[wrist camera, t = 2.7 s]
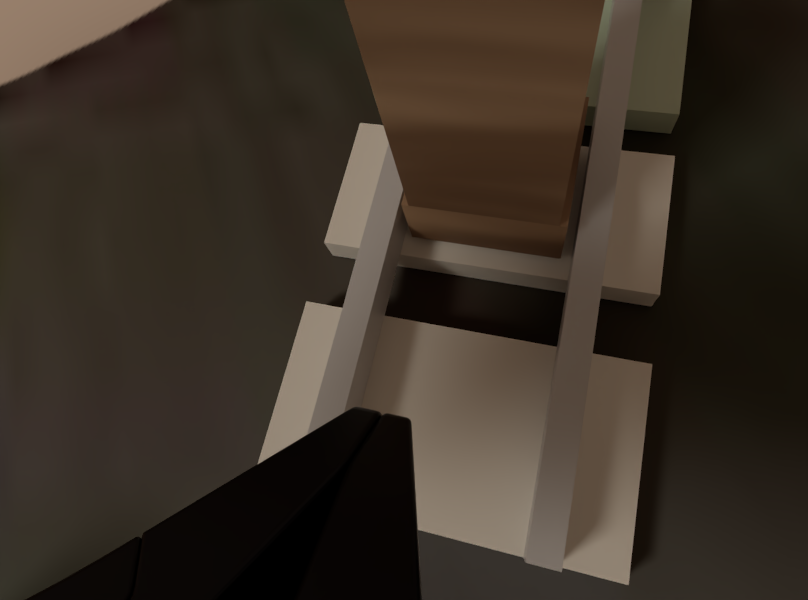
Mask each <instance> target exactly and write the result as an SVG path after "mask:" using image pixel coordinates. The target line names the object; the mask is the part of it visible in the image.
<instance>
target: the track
mask: <svg viewBox="0 0 808 600" xmlns="http://www.w3.org/2000/svg"><path fill="white" fill-rule="evenodd" d="M691 4H692V0H605V2H604V7H603V12H602V17H601V22H600V27H599V32H598V37H597V42H596V47H595V52H594V57H593V62H592V67H591V72H590V77H589V82H588V87H587V92H586V97H589V101H588V108H587V114H586V120H585V125H586V126H592V131H591V137H590V144H589V147H585V146H581V150H580V156H579V162H578V168H577V174H576V180H575V186H574V192H573V198H572V205H571V211H570V217H569V223H568V228H567V233H566V237H565V241H564V246H563V250H562V255H561V259H558V258H551V257H544V256H538V255H531V254H524V253H517V252H511V251H504V250H497V249H490V248H484V247H477V246H470V245H463V244H457V243H450V242H443V241H436V240H430V239H423V238H416V237H412V235H411V232H410V229H409V226H408V224H407V221H406V218H405V215H404V212H403V209H402V206H401V204H402V200H403V196H404V190H403V187H402V184H401V181H400V177H399V174H398V171H397V168H396V165H395V161H394V158H393V155H392V152H391V148H390V145H389V142H388V139H387V136H386V132H385V129H384V126H383V125H375V124H366V123H360V125H359V128H358V132H357V135H356V138H355V142H354V145H353V148H352V152H351V155H350V158H349V162H348V165H347V168H346V172H345V175H344V178H343V182H342V185H341V188H340V192H339V195H338V198H337V202H336V205H335V208H334V212H333V215H332V218H331V222H330V225H329V228H328V232H327V235H326V238H325V242H324V243H325V244H326V246H327V247H328V249H329V250H330V252H331V253H332V255H333V256H340V257H346V258H352V259H356V262H355V265H354V269H353V272H352V276H351V279H350V283H349V287H348V290H347V294H346V297H345V301H344V304H343V308H340V307H334V306H329V305H323V304H318V303H312V302H307V301H306V305H305V308H304V311H303V315H302V318H301V321H300V325H299V328H298V331H297V335H296V338H295V341H294V345H293V348H292V351H291V355H290V358H289V361H288V365H287V368H286V371H285V375H284V378H283V381H282V385H281V388H280V391H279V395H278V398H277V401H276V405H275V408H274V411H273V415H272V418H271V421H270V425H269V428H268V431H267V435H266V438H265V441H264V445H263V448H262V451H261V455H260V458H259V461H258V464H259V463H261V462H262V461H264V460H266V459H267V458H269V457H271V456H272V455H274V454H276V453H277V452H279V451H281V450H282V449H284V448H286V447H287V446H289V445H291V444H292V443H294V442H296V441H297V440H299V439H301V438H302V437H304V436H306V435H307V434H309V433H311V432H312V431H314V430H316V429H317V428H319V427H321V426H322V425H324V424H326V423H327V422H329V421H331V420H332V419H334V418H336V417H337V416H339V415H341V414H342V413H344V412H346V411H347V410H349V409H351V408H353V407H362V408H367V409H371V410H376V411H379V412H380V413H381V414H382V415H383V414H385V413H389V414H394V415H399V416H403V417H407V418H409V419H410V420H411V424H412V439H413V456H414V473H415V490H416V507H417V524H418V530H421V531H425V532H429V533H433V534H437V535H440V536H444V537H448V538H452V539H455V540H459V541H463V542H467V543H471V544H474V545H478V546H482V547H486V548H490V549H493V550H497V551H501V552H505V553H508V554H512V555H516V556H520V557H523V558H524V560H525V563H529V564H533V565H537V566H540V567H544V568H548V569H552V570H555V571H559V572H562V568H565V569H569V570H573V571H577V572H580V573H584V574H588V575H592V576H596V577H599V578H603V579H607V580H611V581H615V582H618V583H622V584H626V585H629V576H630V567H631V557H632V548H633V539H634V530H635V520H636V511H637V502H638V493H639V484H640V474H641V465H642V456H643V447H644V437H645V428H646V419H647V410H648V401H649V391H650V382H651V373H652V364H648V363H643V362H637V361H632V360H626V359H621V358H615V357H610V356H604V355H599V354H593V347H594V340H595V332H596V325H597V318H598V311H599V304H600V298H601V299H607V300H614V301H620V302H626V303H632V304H639V305H645V306H652V305H653V304H654V302H655V301H656V300H657V298H658V297H659V296H660V290H661V281H662V271H663V262H664V253H665V244H666V235H667V225H668V216H669V207H670V198H671V188H672V179H673V170H674V161H675V156H671V155H661V154H651V153H642V152H632V151H623V150H621V148H622V141H623V134H624V129H627V130H637V131H648V132H658V133H668V134H671V132H672V130H673V128H674V126H675V123H676V121H677V119H678V117H679V114H680V105H681V96H682V87H683V78H684V69H685V59H686V50H687V41H688V32H689V22H690V13H691ZM375 101H376V100H375ZM397 266H402V267H408V268H414V269H421V270H427V271H433V272H439V273H445V274H452V275H458V276H464V277H470V278H477V279H483V280H489V281H495V282H502V283H508V284H514V285H520V286H526V287H533V288H539V289H545V290H551V291H558V292H564V293H566V294H565V300H564V306H563V312H562V319H561V325H560V331H559V337H558V344H557V347H555V346H549V345H544V344H538V343H533V342H527V341H522V340H516V339H511V338H505V337H500V336H494V335H489V334H483V333H478V332H472V331H467V330H461V329H456V328H450V327H445V326H439V325H434V324H428V323H423V322H417V321H411V320H406V319H400V318H395V317H389V316H385V312H386V308H387V304H388V300H389V296H390V292H391V289H392V285H393V281H394V277H395V273H396V269H397Z"/></svg>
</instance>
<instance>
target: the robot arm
mask: <svg viewBox="0 0 808 600" xmlns="http://www.w3.org/2000/svg"><path fill="white" fill-rule="evenodd" d="M25 600H422V592H421V575H420V558H419V541H418V524H417V507H416V490H415V473H414V456H413V439H412V424H411V420H410V419H409V418H407V417H403V416H399V415H394V414H389V413H385V414H383V415H382V414H381V413H380V412H379V411H376V410H371V409H367V408H362V407H353V408H351V409H349V410H347V411H346V412H344V413H342V414H341V415H339V416H337V417H336V418H334V419H332V420H331V421H329V422H327V423H326V424H324V425H322V426H321V427H319V428H317V429H316V430H314V431H312V432H311V433H309V434H307V435H306V436H304V437H302V438H301V439H299V440H297V441H296V442H294V443H292V444H291V445H289V446H287V447H286V448H284V449H282V450H281V451H279V452H277V453H276V454H274V455H272V456H271V457H269V458H267V459H266V460H264V461H262V462H261V463H259V464H257V465H256V466H254V467H252V468H251V469H249V470H247V471H246V472H244V473H242V474H241V475H239V476H237V477H236V478H234V479H232V480H231V481H229V482H227V483H226V484H224V485H222V486H221V487H219V488H217V489H216V490H214V491H212V492H211V493H209V494H207V495H206V496H204V497H202V498H201V499H199V500H197V501H196V502H194V503H192V504H191V505H189V506H187V507H186V508H184V509H182V510H181V511H179V512H177V513H176V514H174V515H172V516H171V517H169V518H167V519H166V520H164V521H162V522H161V523H159V524H157V525H156V526H154V527H152V528H151V529H149V530H147V531H146V532H144V533H143V535H142V539H141V538H140V537H135V538H134V539H132V540H130V541H129V542H127V543H125V544H124V545H122V546H120V547H119V548H117V549H115V550H114V551H112V552H110V553H109V554H107V555H105V556H103V557H102V558H100V559H98V560H96V561H95V562H93V563H91V564H89V565H88V566H86V567H84V568H82V569H81V570H79V571H77V572H76V573H74V574H72V575H70V576H69V577H67V578H65V579H63V580H62V581H60V582H58V583H56V584H54V585H52V586H50V587H48V588H46V589H45V590H43V591H41V592H39V593H37V594H35V595H33V596H31V597H29V598H27V599H25Z"/></svg>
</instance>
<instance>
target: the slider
mask: <svg viewBox="0 0 808 600" xmlns="http://www.w3.org/2000/svg"><path fill="white" fill-rule="evenodd" d="M344 1H345V4H346V7H347V11H348V14H349V17H350V20H351V23H352V27H353V30H354V33H355V36H356V39H357V43H358V46H359V49H360V52H361V55H362V59H363V62H364V65H365V68H366V71H367V75H368V78H369V81H370V84H371V88H372V91H373V94H374V97H375V100H376V104H377V107H378V110H379V113H380V116H381V120H382V123H383V126H384V129H385V132H386V136H387V139H388V142H389V145H390V148H391V152H392V155H393V158H394V161H395V165H396V168H397V171H398V174H399V177H400V181H401V184H402V187H403V190H404V196H403V200H402V204H401V206H402V209H403V212H404V215H405V218H406V221H407V224H408V226H409V229H410V232H411V235H412V237H416V238H423V239H430V240H436V241H443V242H450V243H457V244H463V245H470V246H477V247H484V248H490V249H497V250H504V251H511V252H517V253H524V254H531V255H538V256H544V257H551V258H558V259H561V255H562V250H563V246H564V241H565V237H566V233H567V228H568V223H569V217H570V211H571V205H572V198H573V192H574V186H575V180H576V174H577V168H578V162H579V156H580V150H581V144H582V138H583V132H584V126H585V120H586V114H587V108H588V101H589V97H586V92H587V87H588V82H589V77H590V72H591V67H592V62H593V57H594V52H595V47H596V42H597V37H598V32H599V27H600V22H601V17H602V12H603V7H604V2H605V0H344Z"/></svg>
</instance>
